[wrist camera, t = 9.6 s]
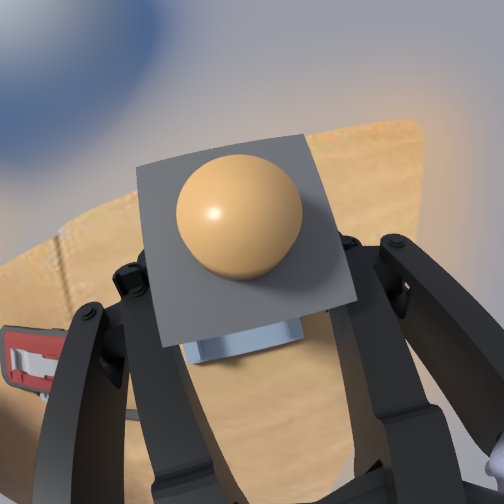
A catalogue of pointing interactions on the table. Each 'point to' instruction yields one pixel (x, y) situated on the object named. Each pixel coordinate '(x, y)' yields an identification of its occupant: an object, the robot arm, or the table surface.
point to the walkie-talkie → (34, 359)
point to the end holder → (244, 341)
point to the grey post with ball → (239, 239)
